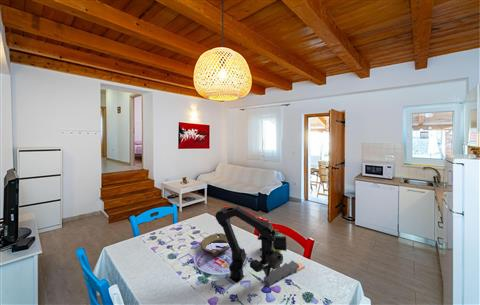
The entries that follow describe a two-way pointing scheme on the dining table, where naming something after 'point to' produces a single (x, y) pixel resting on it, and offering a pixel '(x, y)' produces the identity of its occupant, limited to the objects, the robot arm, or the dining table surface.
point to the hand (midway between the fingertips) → (267, 275)
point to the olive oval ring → (214, 239)
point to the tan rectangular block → (300, 267)
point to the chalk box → (272, 241)
